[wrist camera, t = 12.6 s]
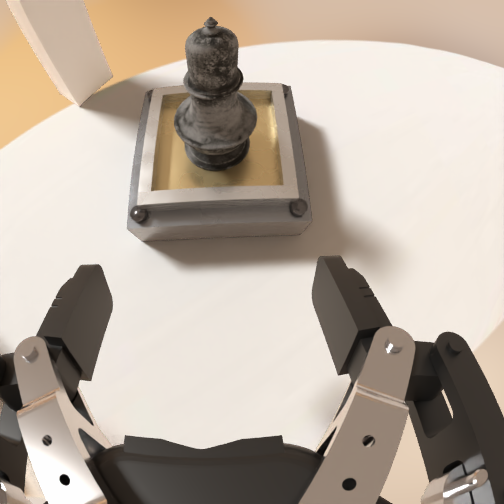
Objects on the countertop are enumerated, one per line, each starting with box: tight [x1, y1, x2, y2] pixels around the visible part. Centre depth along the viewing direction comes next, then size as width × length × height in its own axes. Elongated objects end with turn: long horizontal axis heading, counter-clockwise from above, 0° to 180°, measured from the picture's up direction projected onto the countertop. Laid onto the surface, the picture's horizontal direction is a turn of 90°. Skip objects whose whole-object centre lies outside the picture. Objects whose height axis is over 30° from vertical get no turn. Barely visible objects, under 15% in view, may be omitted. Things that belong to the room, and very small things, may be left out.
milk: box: [6, 0, 113, 106], centre depth 16 cm, size 6×6×22 cm
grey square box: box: [127, 83, 312, 241], centre depth 23 cm, size 14×14×6 cm
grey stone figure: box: [174, 17, 257, 171], centre depth 16 cm, size 6×6×12 cm
